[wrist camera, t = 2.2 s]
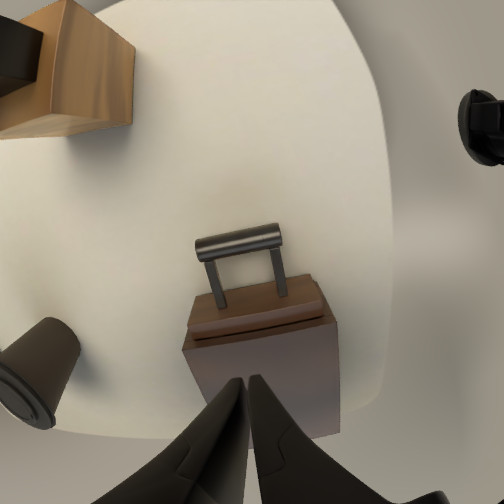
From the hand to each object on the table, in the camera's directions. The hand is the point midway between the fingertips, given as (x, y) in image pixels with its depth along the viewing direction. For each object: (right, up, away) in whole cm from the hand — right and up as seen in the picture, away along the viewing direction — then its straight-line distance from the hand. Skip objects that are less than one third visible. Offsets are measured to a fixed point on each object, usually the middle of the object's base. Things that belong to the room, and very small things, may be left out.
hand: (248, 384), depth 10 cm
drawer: (+1, -1, +12) cm, 12 cm away
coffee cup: (-19, -4, +14) cm, 24 cm away
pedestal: (-11, +16, +7) cm, 21 cm away
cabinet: (+2, -4, +14) cm, 15 cm away
